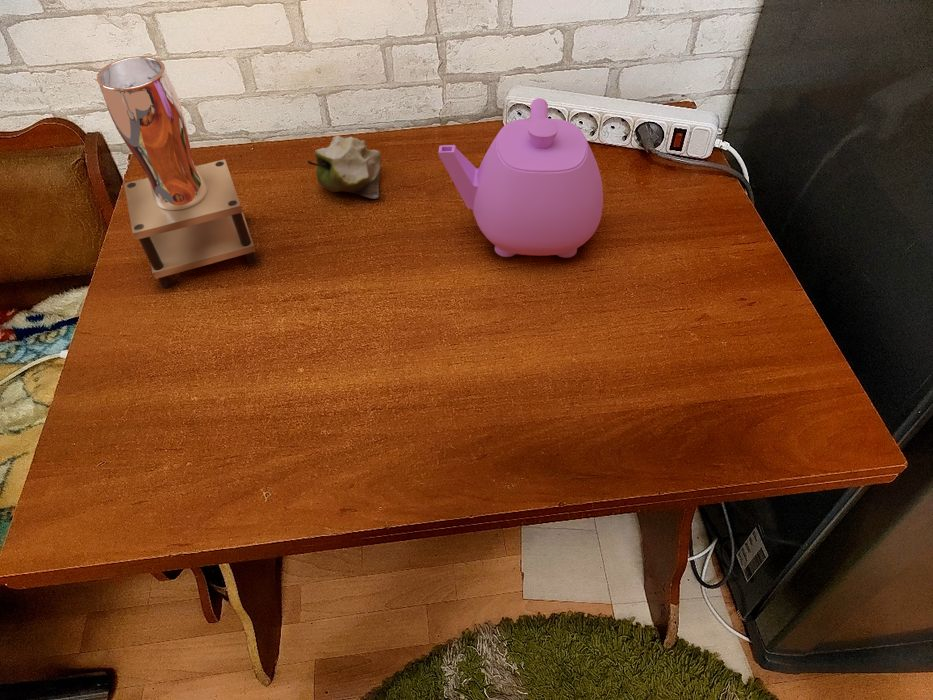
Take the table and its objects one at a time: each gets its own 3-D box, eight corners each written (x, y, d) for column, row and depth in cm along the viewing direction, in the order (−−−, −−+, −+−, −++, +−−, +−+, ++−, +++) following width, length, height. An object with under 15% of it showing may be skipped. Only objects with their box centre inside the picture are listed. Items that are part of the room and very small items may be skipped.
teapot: (447, 176, 96) (443, 74, 85) (590, 177, 96) (605, 75, 84) (438, 272, 84) (432, 169, 72) (603, 275, 83) (623, 170, 72)
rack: (161, 291, 82) (132, 233, 76) (151, 241, 88) (123, 183, 81) (260, 263, 85) (240, 205, 78) (244, 216, 91) (225, 158, 84)
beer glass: (137, 205, 79) (78, 82, 67) (175, 171, 83) (126, 50, 71) (187, 219, 77) (135, 95, 65) (223, 183, 81) (180, 61, 70)
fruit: (326, 217, 93) (303, 166, 87) (326, 181, 99) (304, 132, 94) (391, 199, 92) (372, 146, 87) (386, 164, 99) (369, 113, 93)
